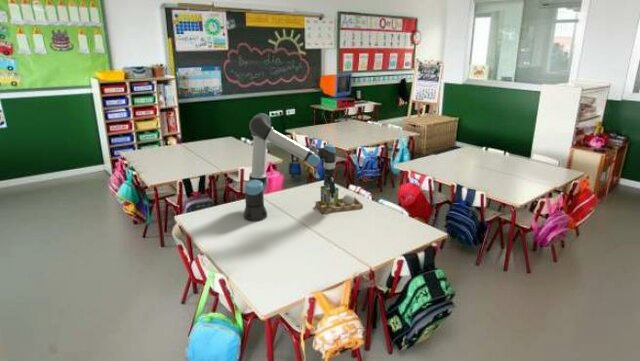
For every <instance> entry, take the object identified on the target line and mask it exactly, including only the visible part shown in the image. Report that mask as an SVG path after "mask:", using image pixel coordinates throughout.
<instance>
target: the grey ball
mask: <svg viewBox="0 0 640 361" xmlns="http://www.w3.org/2000/svg"><path fill="white" fill-rule="evenodd" d="M354 197H355V196H354V195H352V193H351V194H350V193H347V194H344V196H343V197H342V198H343V203H344V204H345V205H347V206H350V205H352V204H353V203H354Z"/></svg>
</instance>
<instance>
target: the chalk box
mask: <svg viewBox="0 0 640 361" xmlns="http://www.w3.org/2000/svg"><path fill="white" fill-rule="evenodd" d="M328 184H329V183H328V182H327V183H326V185H322V186H321V185H320V201H321V203H323V204H325V205H326V206H330V205H335V204H338V199H339V187H337V186H336V185H335V193H334V202H330V187H329V185H328Z"/></svg>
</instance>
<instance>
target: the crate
mask: <svg viewBox="0 0 640 361" xmlns="http://www.w3.org/2000/svg"><path fill="white" fill-rule="evenodd" d="M353 197H354V203H353V204H352V205H350V206H347V205H345V204H344V203H343V197H342V198H338V204H335V205H330V206H326V205H325V204H323V203H321V200H317V201H316V200H315V207H316V209H317V210H318V211H319V212H320V214H321V215H326V213H333V212H342V211H351V210H358V209H359V210H360V209H363V208H364V204H363V203H362V202H361V201H360V200H359V199H357V198H356V197H355V196H353Z"/></svg>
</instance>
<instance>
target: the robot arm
mask: <svg viewBox="0 0 640 361" xmlns="http://www.w3.org/2000/svg"><path fill="white" fill-rule="evenodd" d="M249 130H250V133H251V136H252V137H253V138H252V140H253V142H252V157H251V158H252V163H251V172H250V173H249V175H248V181H246V182H245V183H244V197H245V198H244V199H245V207H244V211H243V219H244V220H246V221H250V222H259V221H263V220H265V219H267V217H268V212H267V208H266V207H265V201H264V200H265V199H264V198H265V197H264V194H265V192H266V189H267V188H268V179H267V178H268V175H267V173H266V159H267V158H266V157H267V144H268V143H267V141H268V142H270V143H273V145H275V146H277V147H279V148H281V149H283V150H284V151H286V152H288V153H290V154H291V155H293V156H296V157H297V158H299V159H300V160H302V161H305V162H306V163H307V164H308V166H310V167H317V166H318V165H319V164H320V161H321V160H323V174H324V179H323V186H325V185H326V183H327V182H328V183H329V184H328V185H329V187H330V202H334V193H335V186H336V185H335V184H336V182H335V181H336V180H335V178H334V175H335V174H336V145H335V144H331V143H328V144H327V143H326V144H324V145H323V147H305V146H303V145H302V144H301V143H298V142H296V141H295V140H293V139H292V138H289V137H288V136H286V135H284V134H283V133H281V132H279V131H278V130H275V129H274V126H272V120H271V118H270V116H269V115H267V113H261V112H259V113H258V114H255V115H254V116H253V118H252V119H251V120H250V122H249Z"/></svg>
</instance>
